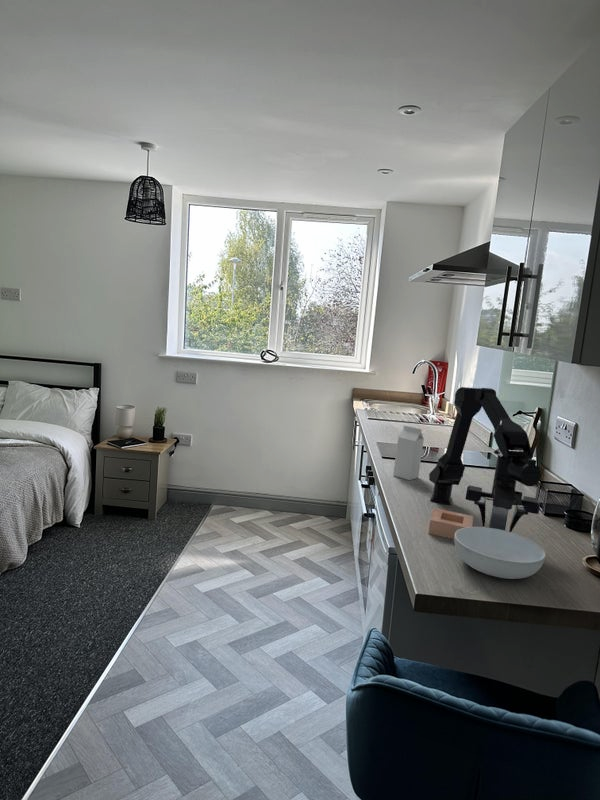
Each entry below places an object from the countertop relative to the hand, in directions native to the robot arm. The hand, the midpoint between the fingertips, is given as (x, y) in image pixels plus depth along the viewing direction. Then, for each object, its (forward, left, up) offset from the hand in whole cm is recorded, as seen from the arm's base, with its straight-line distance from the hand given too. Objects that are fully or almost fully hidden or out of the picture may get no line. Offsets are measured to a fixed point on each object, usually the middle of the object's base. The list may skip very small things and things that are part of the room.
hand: (496, 529), depth 151 cm
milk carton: (-48, -32, -4) cm, 58 cm away
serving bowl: (+19, 0, -4) cm, 19 cm away
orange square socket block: (0, -12, -4) cm, 12 cm away
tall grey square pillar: (0, 0, -4) cm, 4 cm away
